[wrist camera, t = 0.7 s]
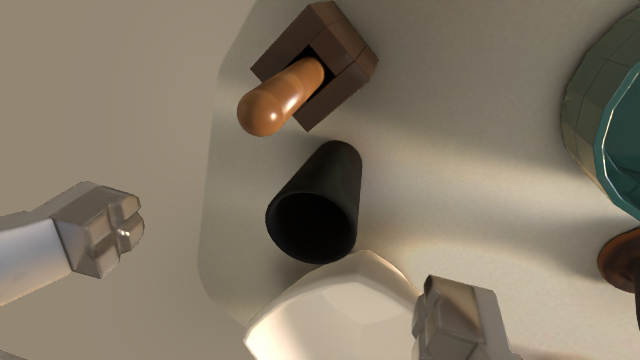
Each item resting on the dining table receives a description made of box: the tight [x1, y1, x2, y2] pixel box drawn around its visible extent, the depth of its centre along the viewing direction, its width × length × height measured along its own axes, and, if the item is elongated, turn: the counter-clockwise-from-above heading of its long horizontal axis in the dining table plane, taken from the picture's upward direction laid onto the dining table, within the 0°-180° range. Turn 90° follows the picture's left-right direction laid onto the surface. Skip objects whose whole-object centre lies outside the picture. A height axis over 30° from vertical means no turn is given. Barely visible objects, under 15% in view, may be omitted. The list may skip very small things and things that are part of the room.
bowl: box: [243, 250, 422, 360], centre depth 40 cm, size 22×22×12 cm
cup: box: [265, 141, 362, 264], centre depth 32 cm, size 8×8×12 cm
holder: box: [250, 1, 379, 132], centre depth 28 cm, size 7×7×8 cm
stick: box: [237, 51, 332, 137], centre depth 24 cm, size 2×2×18 cm
